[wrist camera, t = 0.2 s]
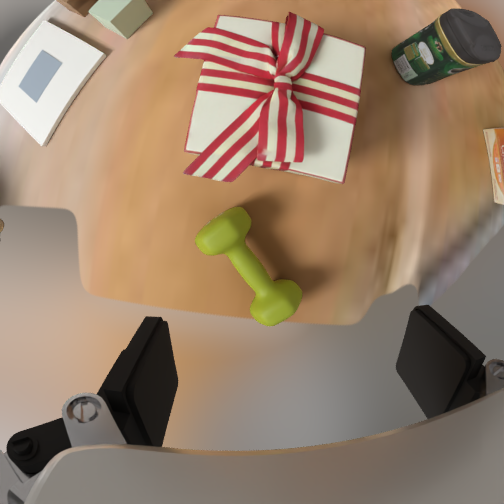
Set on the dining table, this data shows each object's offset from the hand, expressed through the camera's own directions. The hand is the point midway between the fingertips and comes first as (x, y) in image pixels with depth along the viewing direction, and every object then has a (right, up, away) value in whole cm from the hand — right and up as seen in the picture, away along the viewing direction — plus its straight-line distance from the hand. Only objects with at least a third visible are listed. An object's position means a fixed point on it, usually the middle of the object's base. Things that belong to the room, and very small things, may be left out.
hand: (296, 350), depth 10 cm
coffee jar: (+25, +35, +23) cm, 49 cm away
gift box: (-1, +22, +26) cm, 34 cm away
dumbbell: (-2, +2, +32) cm, 32 cm away
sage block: (-21, +41, +20) cm, 50 cm away
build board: (-39, +35, +21) cm, 56 cm away
